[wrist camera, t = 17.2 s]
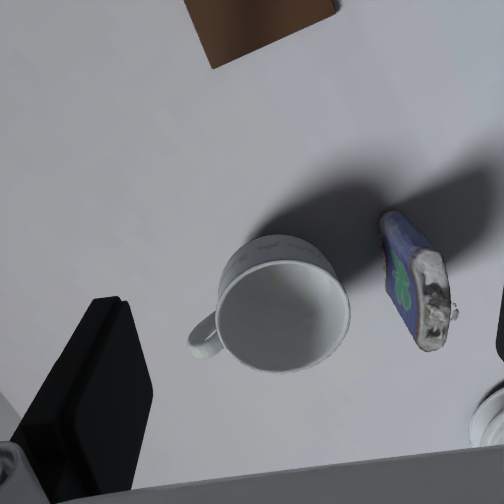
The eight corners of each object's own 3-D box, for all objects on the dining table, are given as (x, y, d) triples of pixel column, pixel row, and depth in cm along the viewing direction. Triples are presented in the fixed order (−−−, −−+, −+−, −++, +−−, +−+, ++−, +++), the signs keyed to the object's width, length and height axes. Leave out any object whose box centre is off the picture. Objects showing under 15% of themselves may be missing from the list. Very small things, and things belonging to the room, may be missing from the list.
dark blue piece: (375, 212, 38) (419, 263, 28) (408, 205, 38) (464, 254, 28) (384, 299, 42) (427, 372, 32) (414, 293, 42) (467, 365, 32)
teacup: (320, 209, 38) (338, 244, 31) (342, 310, 42) (362, 362, 35) (172, 248, 39) (155, 290, 32) (208, 342, 44) (200, 398, 36)
